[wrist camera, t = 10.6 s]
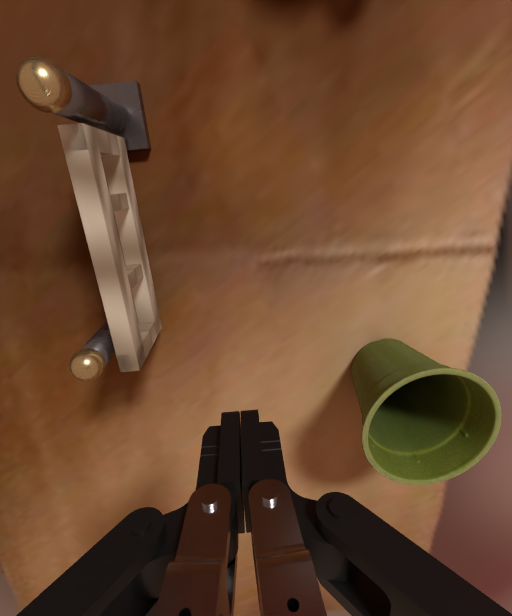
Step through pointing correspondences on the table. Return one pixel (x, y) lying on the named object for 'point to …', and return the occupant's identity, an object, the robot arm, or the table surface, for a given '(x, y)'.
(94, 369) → the latch post
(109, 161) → the gate
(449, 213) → the table surface
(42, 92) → the hinge post
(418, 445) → the plant pot
